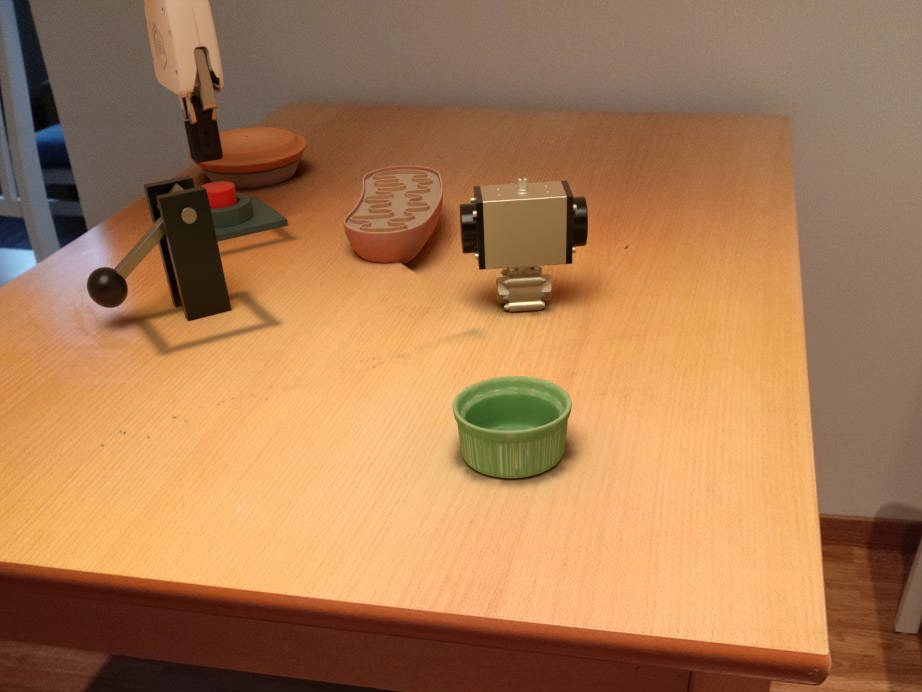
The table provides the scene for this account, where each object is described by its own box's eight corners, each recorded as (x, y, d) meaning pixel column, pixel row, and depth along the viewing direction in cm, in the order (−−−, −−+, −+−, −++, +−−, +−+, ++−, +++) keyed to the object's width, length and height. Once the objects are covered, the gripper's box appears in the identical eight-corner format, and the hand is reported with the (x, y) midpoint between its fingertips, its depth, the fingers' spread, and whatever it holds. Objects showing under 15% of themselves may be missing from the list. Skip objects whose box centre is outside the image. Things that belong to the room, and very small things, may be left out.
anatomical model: (372, 209, 124) (367, 166, 121) (452, 207, 124) (450, 163, 121) (343, 281, 107) (336, 233, 104) (436, 279, 107) (432, 231, 103)
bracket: (164, 351, 96) (128, 212, 88) (138, 319, 102) (102, 186, 94) (273, 323, 100) (248, 187, 92) (242, 293, 106) (216, 163, 98)
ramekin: (594, 448, 79) (596, 396, 76) (519, 497, 74) (518, 445, 71) (507, 414, 84) (505, 364, 81) (431, 458, 79) (427, 407, 76)
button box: (190, 261, 114) (182, 224, 111) (164, 235, 120) (156, 200, 118) (290, 238, 118) (284, 202, 115) (259, 215, 125) (253, 180, 122)
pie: (292, 195, 130) (285, 153, 127) (178, 194, 132) (168, 153, 129) (324, 159, 141) (319, 120, 138) (219, 159, 144) (211, 120, 140)
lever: (115, 321, 95) (83, 295, 92) (105, 308, 97) (74, 282, 94) (209, 215, 94) (180, 185, 91) (197, 204, 96) (168, 176, 93)
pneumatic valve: (586, 311, 99) (589, 182, 91) (466, 319, 99) (459, 190, 91) (578, 289, 103) (581, 163, 95) (463, 296, 103) (457, 171, 95)
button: (209, 213, 115) (205, 194, 113) (198, 204, 117) (194, 185, 116) (242, 206, 116) (239, 187, 115) (231, 197, 119) (227, 178, 118)
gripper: (113, -41, 105) (155, 149, 117) (155, -24, 95) (196, 182, 107) (184, -48, 108) (217, 139, 120) (231, -32, 98) (263, 169, 110)
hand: (207, 158), depth 113 cm, fingers closed
